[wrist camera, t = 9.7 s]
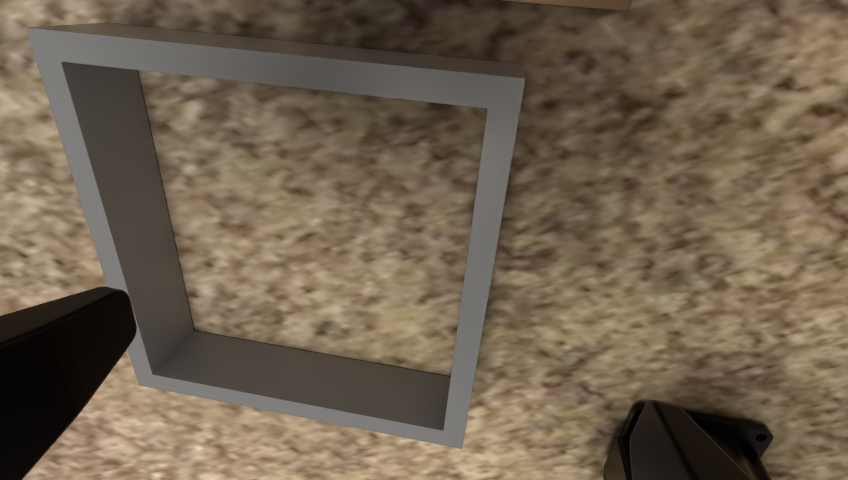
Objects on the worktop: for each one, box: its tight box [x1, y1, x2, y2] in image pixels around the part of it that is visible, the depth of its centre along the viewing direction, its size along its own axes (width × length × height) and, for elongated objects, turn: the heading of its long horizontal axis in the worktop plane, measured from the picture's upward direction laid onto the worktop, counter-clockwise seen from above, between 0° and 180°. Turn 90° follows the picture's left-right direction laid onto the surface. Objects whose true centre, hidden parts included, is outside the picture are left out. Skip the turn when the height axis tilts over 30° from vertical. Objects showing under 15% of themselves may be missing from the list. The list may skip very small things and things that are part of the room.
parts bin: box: [26, 23, 526, 449], centre depth 20 cm, size 17×17×4 cm
